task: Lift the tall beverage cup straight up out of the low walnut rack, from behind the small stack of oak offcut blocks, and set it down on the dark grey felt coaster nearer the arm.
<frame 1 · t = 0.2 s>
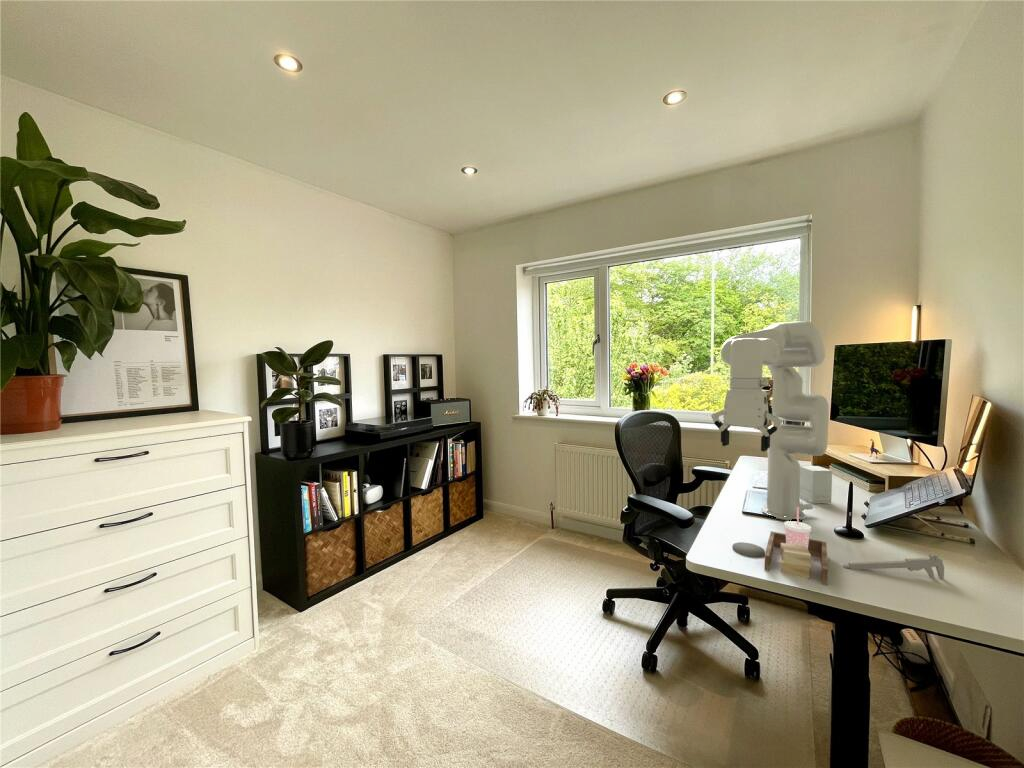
hand: (744, 447, 113), 31 cm above the table, tool pointing down, fingers open, 9 cm apart
rack: (796, 562, 112), on the table
coaster: (748, 550, 119), on the table
beverage cup: (796, 557, 115), resting in rack
offcut upper: (795, 560, 107), point 3 cm above the table
caliper: (891, 574, 106), on the table
supplement box: (814, 501, 159), on the table
offcut lower: (794, 571, 108), on the table
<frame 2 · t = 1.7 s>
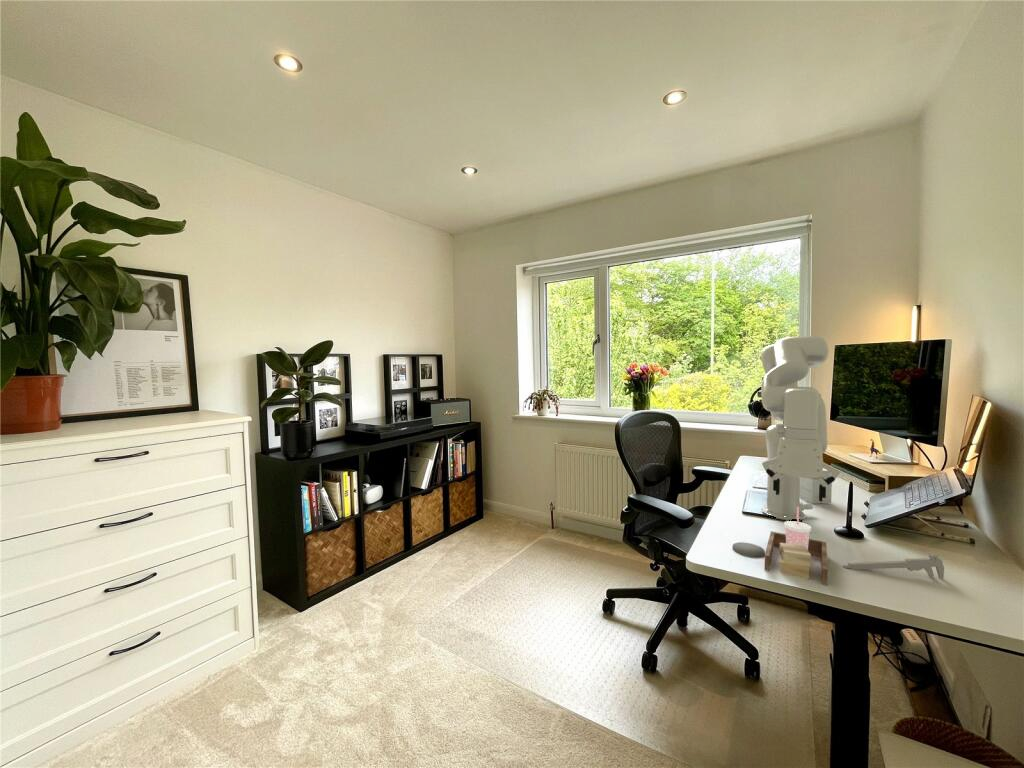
hand: (798, 496, 113), 17 cm above the table, tool pointing down, fingers open, 9 cm apart
offcut upper: (794, 560, 107), point 3 cm above the table, touching offcut lower
offcut lower: (794, 571, 107), on the table, touching offcut upper
everything else where it was.
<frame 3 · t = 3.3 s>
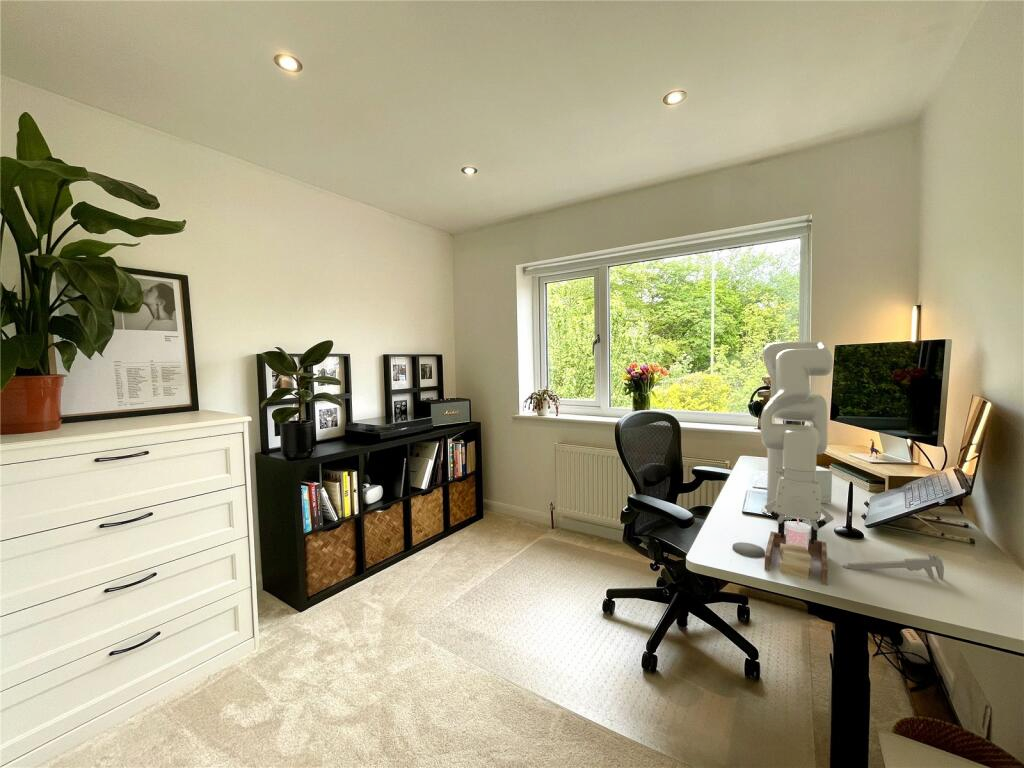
hand: (797, 538, 114), 5 cm above the table, tool pointing down, fingers closed on beverage cup, 6 cm apart
beverage cup: (796, 557, 115), resting in rack, touching gripper
everything else where it was.
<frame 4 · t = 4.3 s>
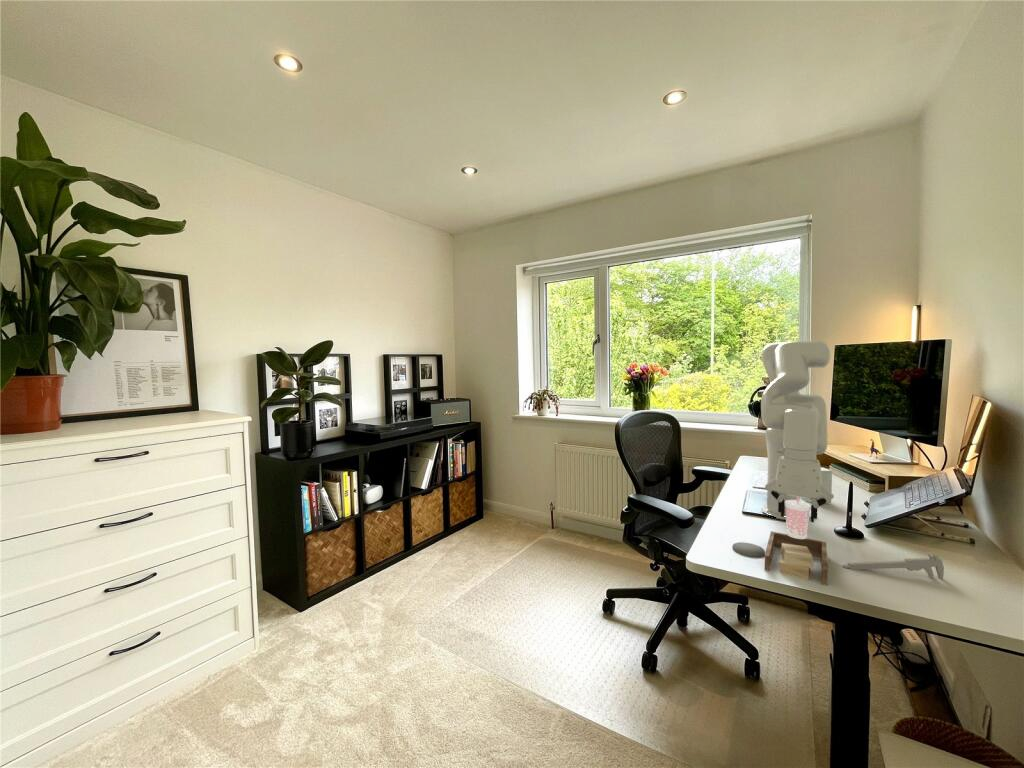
hand: (797, 517, 115), 11 cm above the table, tool pointing down, fingers closed on beverage cup, 6 cm apart
beverage cup: (796, 536, 115), point 5 cm above the table, touching gripper
everything else where it was.
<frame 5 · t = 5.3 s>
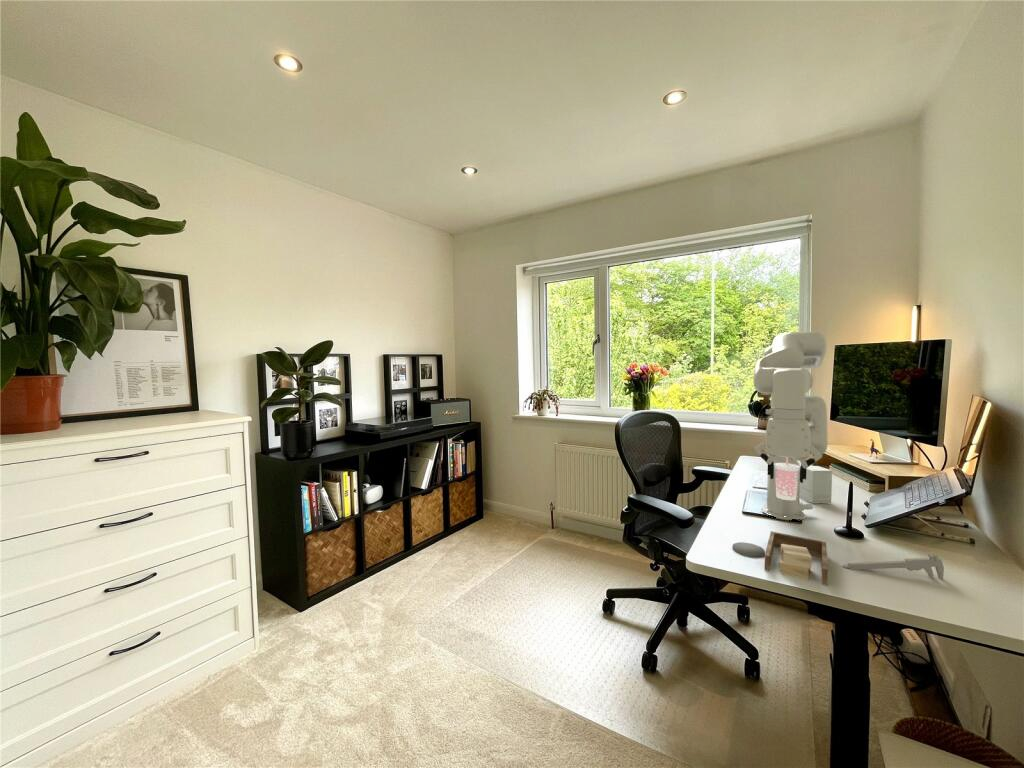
hand: (786, 479, 115), 21 cm above the table, tool pointing down, fingers closed on beverage cup, 6 cm apart
beverage cup: (786, 498, 115), point 16 cm above the table, touching gripper
everything else where it was.
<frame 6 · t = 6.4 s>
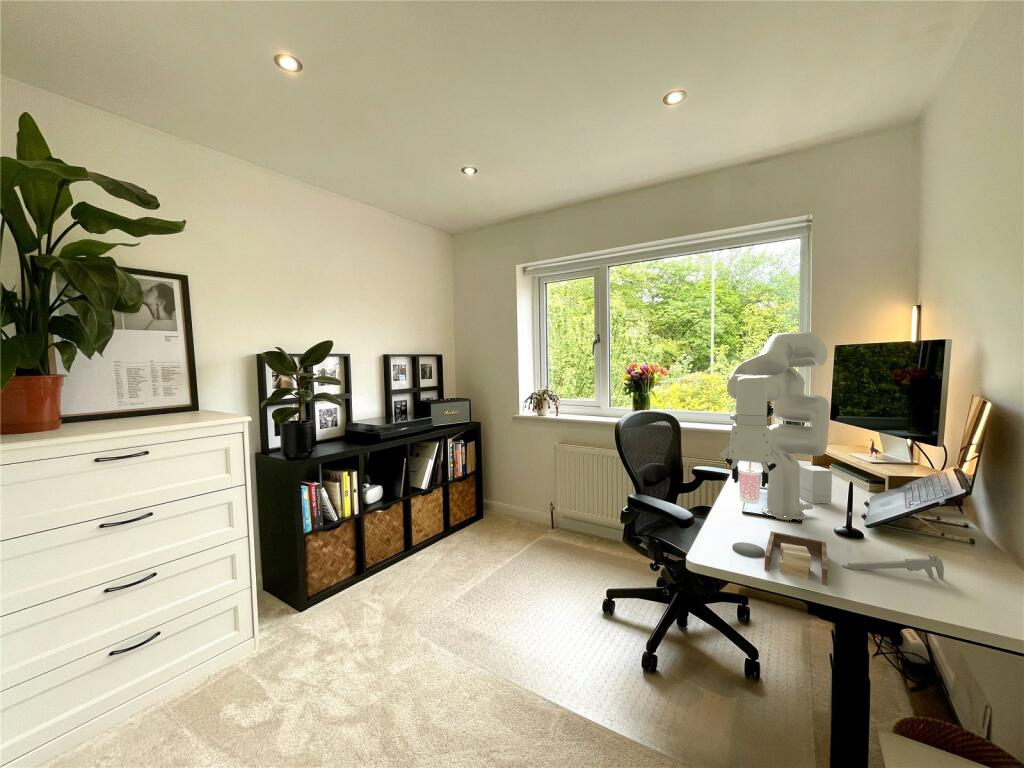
hand: (749, 483, 118), 20 cm above the table, tool pointing down, fingers closed on beverage cup, 6 cm apart
beverage cup: (749, 501, 118), point 14 cm above the table, touching gripper
everything else where it was.
when the fingers open (7 cm above the table, at t = 9.0 s): beverage cup drops 1 cm, resting on coaster.
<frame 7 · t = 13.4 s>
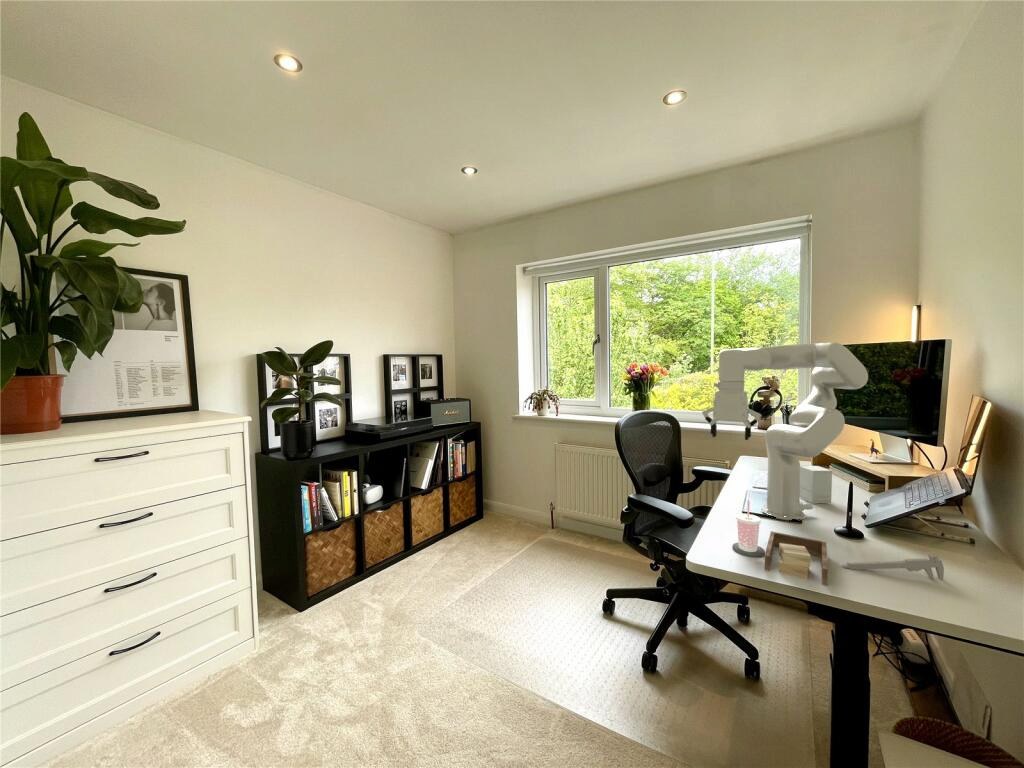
hand: (730, 437, 139), 28 cm above the table, tool pointing down, fingers open, 9 cm apart
beverage cup: (747, 548, 119), resting on coaster
offcut upper: (794, 560, 107), point 3 cm above the table
offcut lower: (794, 572, 107), on the table
everything else where it was.
at the end: beverage cup 0.2 cm from the coaster (horizontally); beverage cup tilted 0°; beverage cup resting on coaster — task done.
